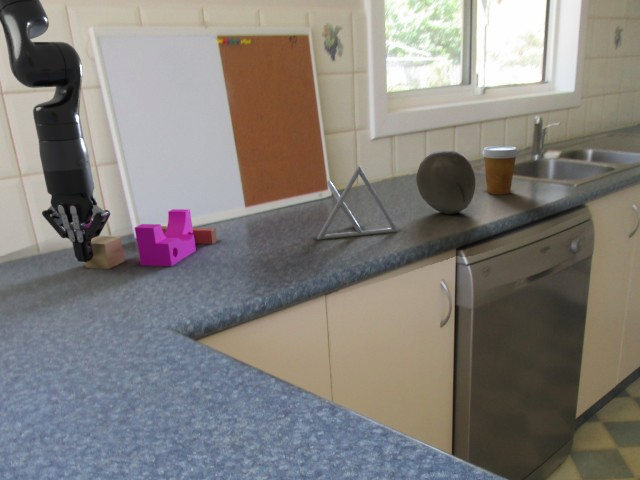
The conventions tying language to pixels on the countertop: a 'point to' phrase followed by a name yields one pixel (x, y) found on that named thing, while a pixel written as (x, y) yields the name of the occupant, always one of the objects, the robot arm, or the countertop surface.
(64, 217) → the robot arm
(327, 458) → the countertop surface
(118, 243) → the beech cube
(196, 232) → the rail
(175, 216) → the toy block
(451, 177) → the dark grey ball
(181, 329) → the countertop surface
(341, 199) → the wire frame
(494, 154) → the disposable coffee cup
